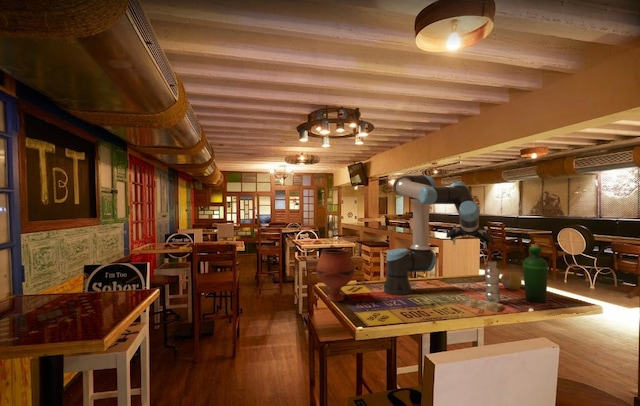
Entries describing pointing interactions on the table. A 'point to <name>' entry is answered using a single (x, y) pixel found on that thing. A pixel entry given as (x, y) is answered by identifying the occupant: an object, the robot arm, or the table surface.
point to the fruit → (511, 280)
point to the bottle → (535, 275)
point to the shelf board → (481, 304)
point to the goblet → (335, 271)
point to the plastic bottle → (492, 283)
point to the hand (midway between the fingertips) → (469, 244)
